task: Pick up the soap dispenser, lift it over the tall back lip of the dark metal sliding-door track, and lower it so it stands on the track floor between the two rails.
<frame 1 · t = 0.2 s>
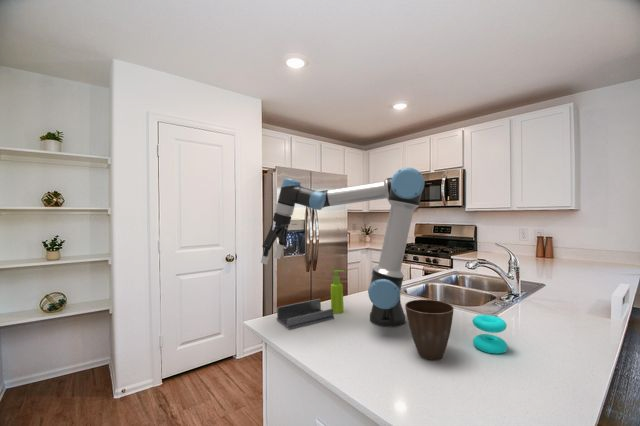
hand: (270, 260, 128), 28 cm above the worktop, tool tilted 20°, fingers open, 13 cm apart
plant pot: (430, 355, 96), on the worktop
soap dispenser: (338, 312, 142), on the worktop
donuts: (490, 348, 100), on the worktop
track: (305, 319, 133), on the worktop
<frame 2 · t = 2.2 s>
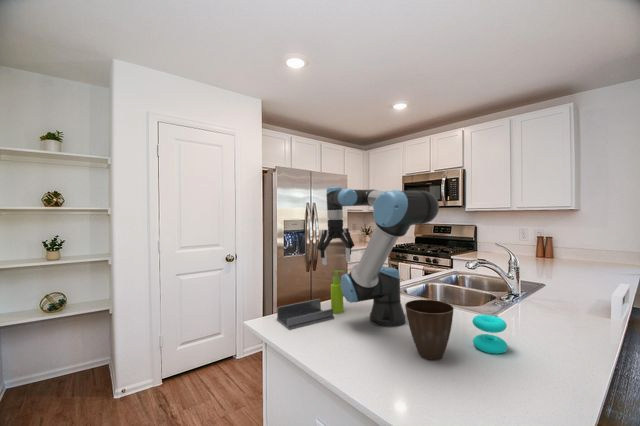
hand: (336, 263, 142), 23 cm above the worktop, tool pointing down, fingers open, 13 cm apart
nothing on the worktop moved.
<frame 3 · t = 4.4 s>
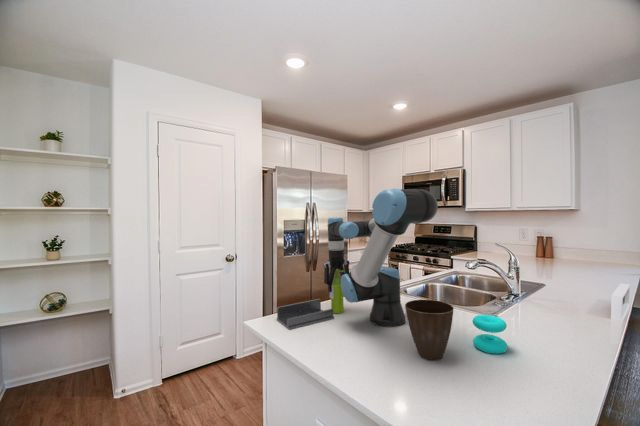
hand: (337, 297, 142), 7 cm above the worktop, tool pointing down, fingers closed on soap dispenser, 6 cm apart
soap dispenser: (338, 311, 142), on the worktop, touching gripper
everything else where it was.
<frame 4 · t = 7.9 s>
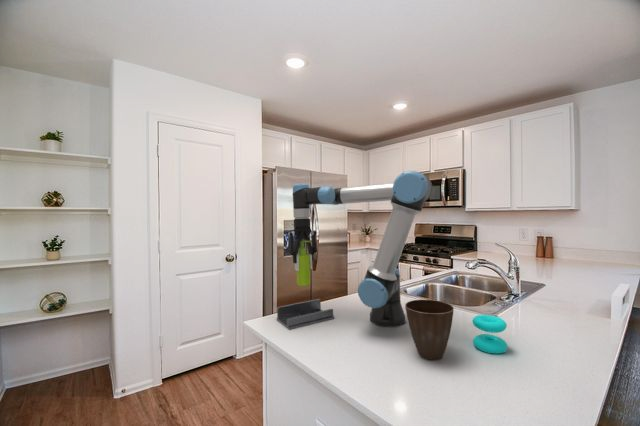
hand: (303, 269, 133), 23 cm above the worktop, tool pointing down, fingers closed on soap dispenser, 6 cm apart
soap dispenser: (304, 284, 133), point 16 cm above the worktop, touching gripper
everything else where it was.
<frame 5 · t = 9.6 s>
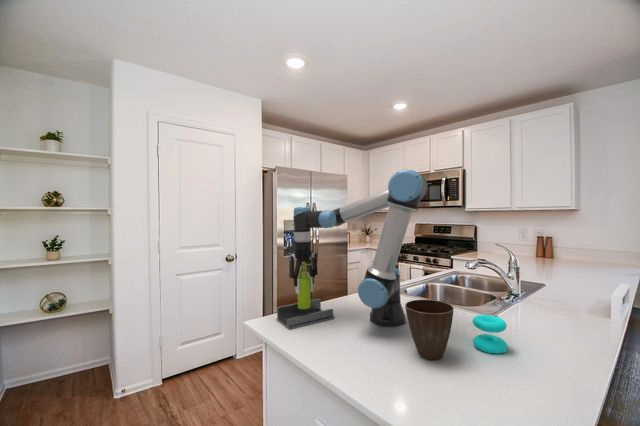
hand: (304, 292, 133), 12 cm above the worktop, tool pointing down, fingers closed on soap dispenser, 6 cm apart
soap dispenser: (305, 307, 133), point 5 cm above the worktop, touching gripper
everything else where it was.
when the fingers open (9 cm above the worktop, at t = 11.0 s): soap dispenser drops 1 cm, resting on track.
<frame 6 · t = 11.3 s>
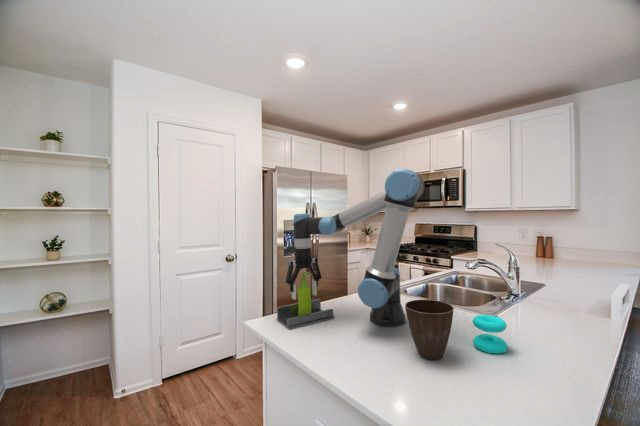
hand: (304, 296, 133), 10 cm above the worktop, tool pointing down, fingers open, 10 cm apart
soap dispenser: (306, 317, 133), point 1 cm above the worktop, touching track
everything else where it was.
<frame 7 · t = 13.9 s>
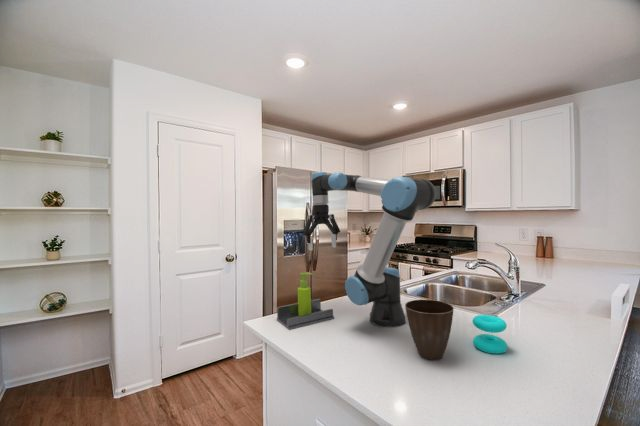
hand: (322, 248, 141), 31 cm above the worktop, tool pointing down, fingers open, 13 cm apart
nothing on the worktop moved.
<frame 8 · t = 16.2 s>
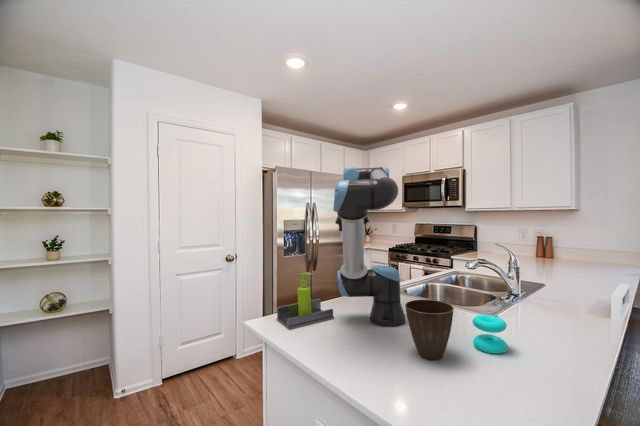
hand: (353, 236, 157), 35 cm above the worktop, tool pointing down, fingers open, 13 cm apart
nothing on the worktop moved.
at the end: soap dispenser inside the target area on the track (0.4 cm from its centre), point 0.8 cm above the track's base; soap dispenser tilted 0°; the gripper is holding nothing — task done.
